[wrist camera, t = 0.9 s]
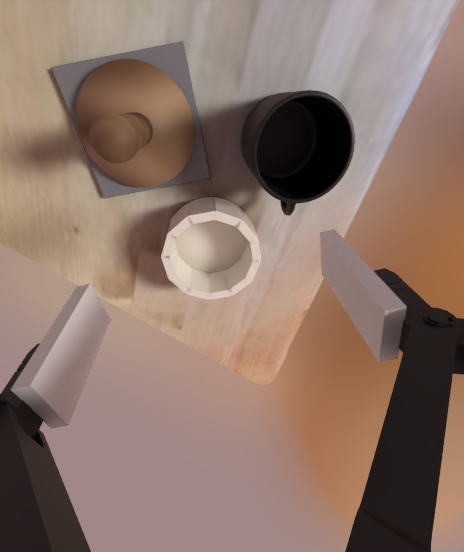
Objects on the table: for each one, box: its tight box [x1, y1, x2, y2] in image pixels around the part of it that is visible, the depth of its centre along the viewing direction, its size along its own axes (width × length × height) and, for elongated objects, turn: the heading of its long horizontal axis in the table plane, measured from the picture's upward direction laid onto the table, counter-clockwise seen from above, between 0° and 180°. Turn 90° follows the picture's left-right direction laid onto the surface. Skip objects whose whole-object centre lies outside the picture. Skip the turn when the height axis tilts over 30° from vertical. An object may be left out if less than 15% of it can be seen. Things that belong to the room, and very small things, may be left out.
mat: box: [51, 41, 210, 198], centre depth 31 cm, size 13×13×1 cm
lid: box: [76, 59, 195, 187], centre depth 26 cm, size 12×12×12 cm
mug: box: [241, 90, 355, 215], centre depth 30 cm, size 9×12×9 cm
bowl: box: [161, 197, 261, 300], centre depth 37 cm, size 12×12×6 cm
